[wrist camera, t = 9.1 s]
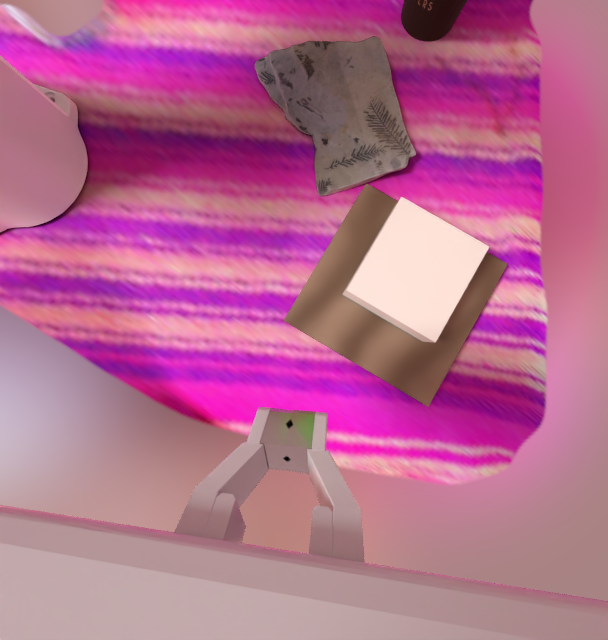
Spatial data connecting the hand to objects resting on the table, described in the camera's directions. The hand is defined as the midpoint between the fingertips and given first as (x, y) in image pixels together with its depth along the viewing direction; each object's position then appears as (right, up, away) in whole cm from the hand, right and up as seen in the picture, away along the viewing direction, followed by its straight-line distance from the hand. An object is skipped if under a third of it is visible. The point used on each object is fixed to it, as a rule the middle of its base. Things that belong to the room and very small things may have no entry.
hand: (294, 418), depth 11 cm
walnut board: (+11, +7, +17) cm, 21 cm away
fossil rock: (+4, +28, +19) cm, 34 cm away
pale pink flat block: (+9, +5, +14) cm, 17 cm away
